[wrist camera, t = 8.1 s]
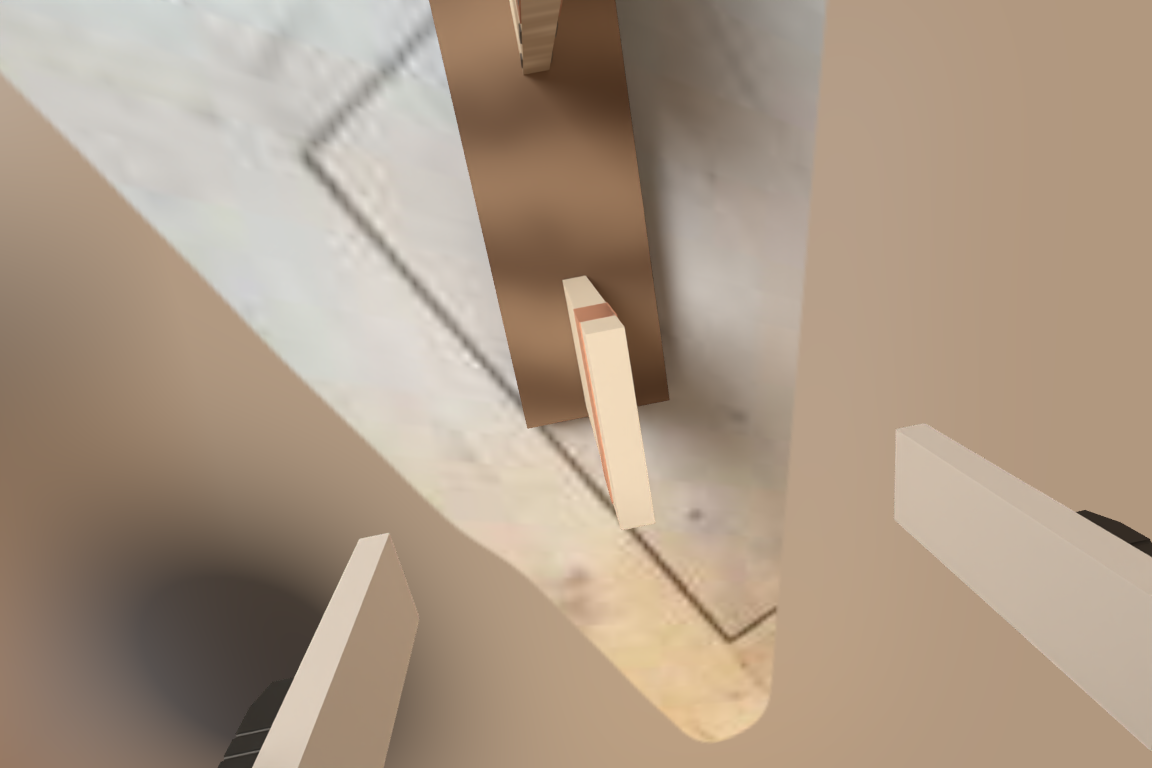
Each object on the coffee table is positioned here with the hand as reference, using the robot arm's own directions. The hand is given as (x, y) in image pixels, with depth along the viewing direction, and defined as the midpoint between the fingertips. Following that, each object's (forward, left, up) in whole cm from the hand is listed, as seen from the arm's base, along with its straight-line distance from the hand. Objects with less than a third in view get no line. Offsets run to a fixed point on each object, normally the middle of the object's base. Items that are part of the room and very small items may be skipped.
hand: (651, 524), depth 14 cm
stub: (-1, 0, -16) cm, 16 cm away
